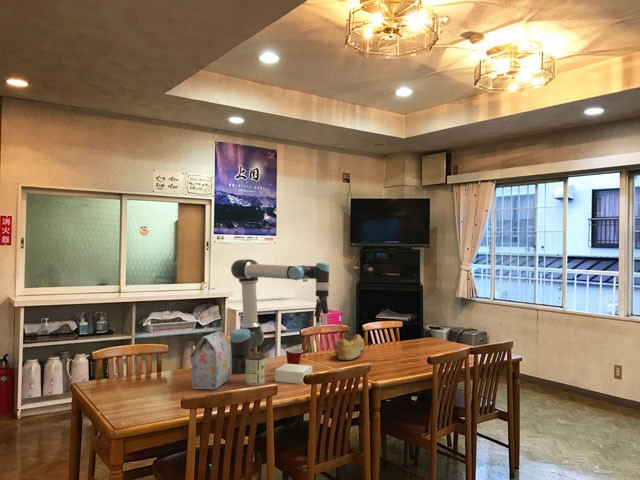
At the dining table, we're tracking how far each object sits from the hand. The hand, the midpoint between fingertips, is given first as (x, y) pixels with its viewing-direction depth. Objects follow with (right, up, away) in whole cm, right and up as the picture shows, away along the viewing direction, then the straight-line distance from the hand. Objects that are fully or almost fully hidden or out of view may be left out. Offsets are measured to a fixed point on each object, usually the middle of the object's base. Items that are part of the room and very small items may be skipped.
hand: (321, 326), depth 279 cm
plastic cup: (-16, -27, +7) cm, 32 cm away
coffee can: (-35, -26, -22) cm, 49 cm away
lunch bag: (-58, -26, -26) cm, 68 cm away
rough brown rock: (+17, -29, +42) cm, 53 cm away
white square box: (-15, -26, -13) cm, 33 cm away
